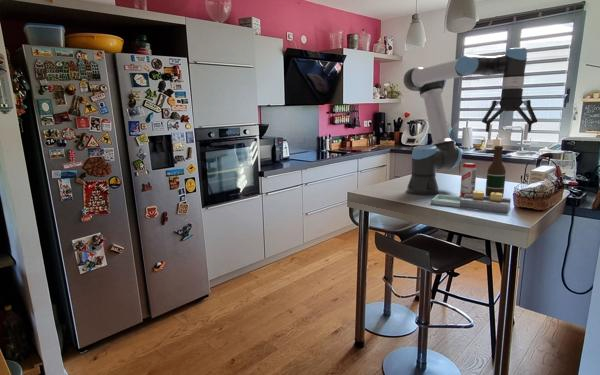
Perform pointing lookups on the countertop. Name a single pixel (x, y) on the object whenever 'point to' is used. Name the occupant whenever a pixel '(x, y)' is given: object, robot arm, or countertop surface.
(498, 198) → the chip front
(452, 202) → the tray
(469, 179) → the white red canister
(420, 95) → the robot arm
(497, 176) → the beer bottle
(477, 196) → the chip back
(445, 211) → the countertop surface
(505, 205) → the slot board
